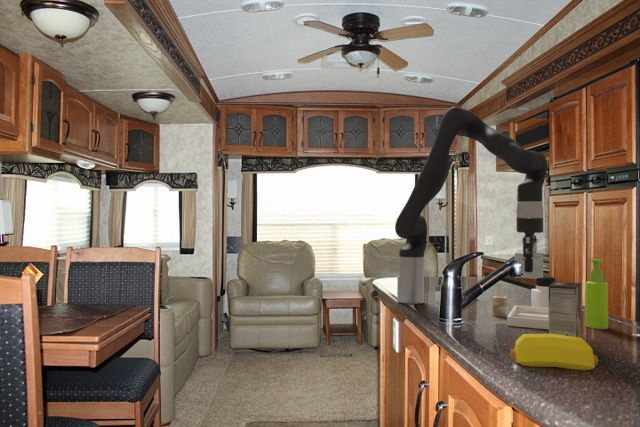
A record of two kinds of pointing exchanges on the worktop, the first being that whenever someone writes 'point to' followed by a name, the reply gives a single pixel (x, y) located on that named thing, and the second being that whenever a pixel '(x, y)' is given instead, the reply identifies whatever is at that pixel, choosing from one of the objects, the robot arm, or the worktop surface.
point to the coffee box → (565, 309)
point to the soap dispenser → (596, 298)
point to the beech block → (500, 306)
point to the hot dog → (553, 352)
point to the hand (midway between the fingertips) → (529, 270)
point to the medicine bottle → (541, 292)
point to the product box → (537, 265)
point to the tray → (529, 317)
